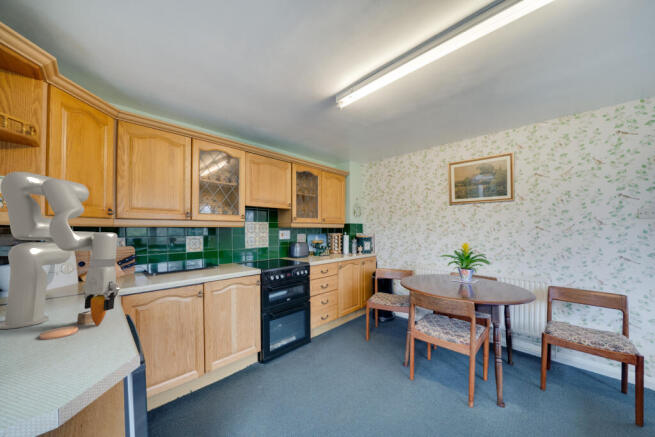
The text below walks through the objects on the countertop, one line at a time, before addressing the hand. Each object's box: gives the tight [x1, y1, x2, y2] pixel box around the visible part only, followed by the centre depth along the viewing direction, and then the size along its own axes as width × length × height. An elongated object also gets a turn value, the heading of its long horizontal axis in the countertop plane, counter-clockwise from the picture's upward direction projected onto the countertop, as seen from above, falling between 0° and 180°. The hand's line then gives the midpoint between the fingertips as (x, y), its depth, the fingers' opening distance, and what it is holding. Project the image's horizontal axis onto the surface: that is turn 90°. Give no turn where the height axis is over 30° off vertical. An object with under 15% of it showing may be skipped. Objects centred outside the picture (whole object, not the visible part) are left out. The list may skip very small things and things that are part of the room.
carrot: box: [90, 294, 107, 327], centre depth 94 cm, size 5×5×15 cm
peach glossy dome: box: [39, 325, 79, 341], centre depth 85 cm, size 9×9×1 cm
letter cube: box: [76, 310, 94, 326], centre depth 96 cm, size 4×4×4 cm
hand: (99, 308), depth 93 cm, fingers open, 9 cm apart
